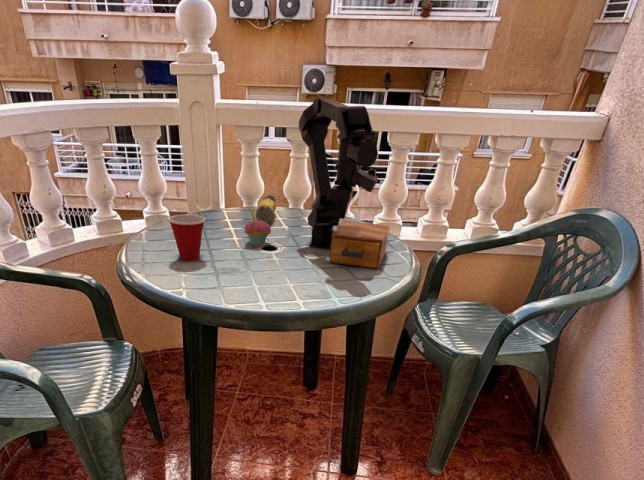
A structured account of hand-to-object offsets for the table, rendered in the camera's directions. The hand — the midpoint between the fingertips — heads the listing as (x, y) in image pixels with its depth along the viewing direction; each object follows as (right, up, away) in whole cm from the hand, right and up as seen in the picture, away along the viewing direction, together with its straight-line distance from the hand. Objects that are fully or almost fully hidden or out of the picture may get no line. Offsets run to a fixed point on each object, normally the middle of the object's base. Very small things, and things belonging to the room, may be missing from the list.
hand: (342, 218), depth 141 cm
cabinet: (+6, -9, +8) cm, 13 cm away
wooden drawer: (+5, -11, +4) cm, 12 cm away
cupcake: (-25, -2, +18) cm, 31 cm away
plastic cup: (-46, -9, +8) cm, 47 cm away
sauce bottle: (-23, +12, +31) cm, 40 cm away
